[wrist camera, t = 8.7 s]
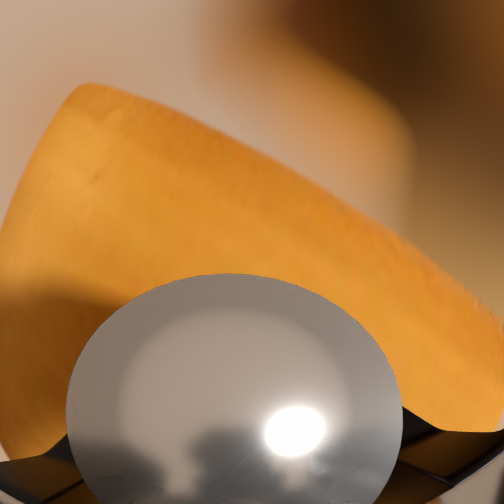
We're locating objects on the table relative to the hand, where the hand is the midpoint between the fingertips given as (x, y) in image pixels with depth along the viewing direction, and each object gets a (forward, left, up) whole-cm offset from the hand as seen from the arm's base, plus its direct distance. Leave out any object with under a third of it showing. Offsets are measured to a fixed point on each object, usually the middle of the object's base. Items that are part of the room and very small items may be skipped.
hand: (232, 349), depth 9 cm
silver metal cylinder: (-1, -1, -7) cm, 7 cm away
